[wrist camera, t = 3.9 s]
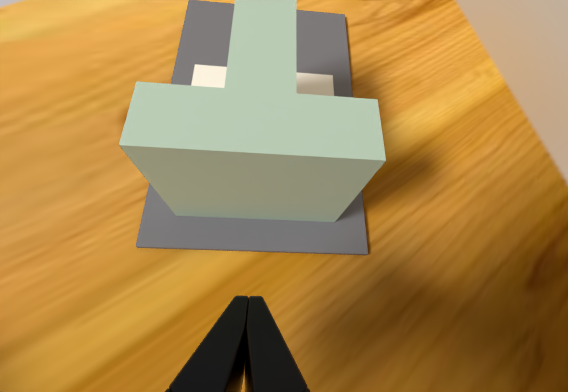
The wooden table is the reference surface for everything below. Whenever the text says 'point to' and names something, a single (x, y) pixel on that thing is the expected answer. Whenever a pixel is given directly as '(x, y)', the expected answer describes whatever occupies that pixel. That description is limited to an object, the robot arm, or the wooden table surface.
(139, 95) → the t block
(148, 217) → the mat
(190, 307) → the wooden table surface
